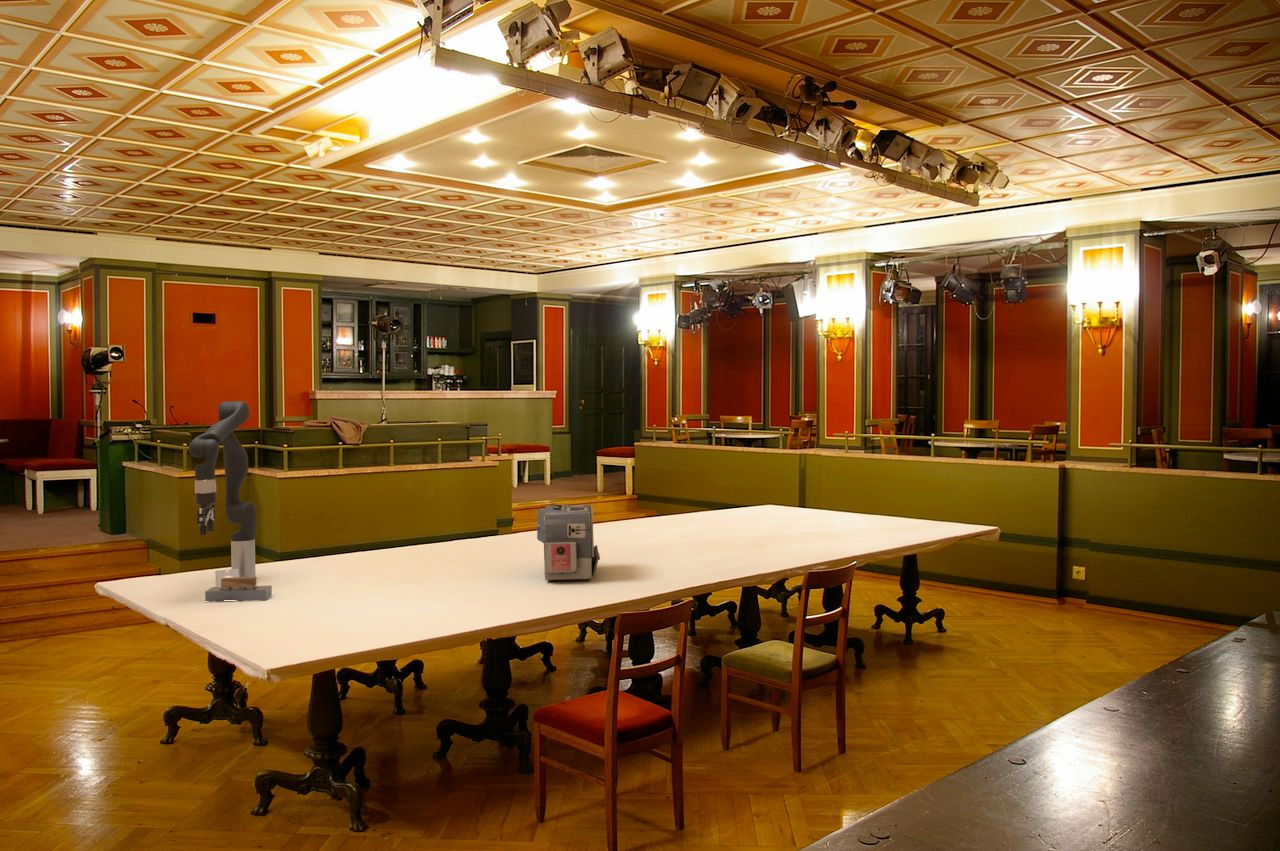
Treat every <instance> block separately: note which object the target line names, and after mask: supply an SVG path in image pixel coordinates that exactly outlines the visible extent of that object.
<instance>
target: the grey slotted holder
mask: <svg viewBox="0 0 1280 851" xmlns="http://www.w3.org/2000/svg"><path fill="white" fill-rule="evenodd" d="M272 587H273V585H256V589H247V586H245V587H231V590H222V587H216V586H212V587H210V588H208V589H207V590H205V591H204V595H205V596H204V597H205V598H204V600H205V601H224V600H260V601H267V600H268V599H270V598H271V597H272V596H273V594H272V593H273V588H272ZM271 595H272V596H271ZM270 596H271V597H270ZM269 597H270V598H269ZM267 598H268V599H267ZM266 599H267V600H266Z"/></svg>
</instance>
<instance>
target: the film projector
mask: <svg viewBox="0 0 1280 851" xmlns="http://www.w3.org/2000/svg"><path fill="white" fill-rule="evenodd" d="M593 511H594V510H593V506H592V505H591V506H590V504H566V505H565V504H554V505H546V506H545V508H538V509H537V514H536V515H537V521H536V522H537V525H536V538H537V540H538V541H539V542H541V543H543V557H544V559H543V560H544V562H543V563H544V564H543V565H544V578H545V581H547V583H552V582H553V581H557V580H558V581H559V580H562V581H563V580H584V581H586V582H587V581H588V582H590V580H591V579H592V577H595V576H596V571H597V566H598V563H599V560H601V554H600V552H599V548H598V545H596V544H595V543H594V540H595V539H594V512H593ZM594 544H595V545H594Z"/></svg>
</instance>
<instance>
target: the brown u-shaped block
mask: <svg viewBox="0 0 1280 851" xmlns="http://www.w3.org/2000/svg"><path fill="white" fill-rule="evenodd" d="M245 586H247V589H256V586H257V576H256V577H229V578H222V579H221V587H222V590H231V587H245Z"/></svg>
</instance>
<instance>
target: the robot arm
mask: <svg viewBox="0 0 1280 851" xmlns="http://www.w3.org/2000/svg"><path fill="white" fill-rule="evenodd" d="M217 411H218V412H217V413H218V420H219V421H217V422H215V423H214V424H212V425H210V427H209V428H208V429H207V430H206V431H205V433H202V434H200V435H198V436H197V437H195V438H193V439H192V440H191V441H190V443H189V446H188V453H189V455H190V456H191V457H193V458H197V459H199V458H201V459H202V458H206V460H205V462H203V463H199V464H197V465H195V467H194V503H195V505H200V508H197V509H196V511H197V512H196V513H197V514H196V517H197V519H196V520H197V521H196V522H197V525H198V526H199V534H200V536H205V535H207V534H208V532H213V531H214V530H215V529H214V528H215V527H214V522H215V520H216V517H217V516H216V503H217V502H218V501H217V499H218V498H217V482H216V465H217V464H216V463H217V460H218V456H219V452H220V445H221V444H222V449H223V450H222V451H223V452H222V454H223V468H224V475H225V476H224V477H225V478H224V479H225V515H226V516H225V517H226V519H227V521H228V522H229V523H230V524H236V525H237V524H239V525H240V528H239V529H238V530H237V531H235V532H232V533H231V534H230V553H231V554H230V555H231V558H230V560H231V569H239V577H256V578H257V576H256V541H255V540H256V539H255V538H256V533H257V518H258V516H257V515H258V514H257V513H258V511H257V507H256V505H255V503H254V502H252V501H241V498H240V494H241V493H240V492H241V486H242V485H243V484H244V481H245V480H246V478H247V475H248V472H249V458H248V457H249V456H248V453H247V450H246V449H245V448H244V446H243V445H242V444H241V442H240V441H239V440H238V439H237V437H236V435H235V432H234V431H235V430H237V429H238V428H239V427H240V426H242V425H243V424H245V423H246V422H247V421H248V420H249V418H250V415H251V414H250V412H251V410H250V406H249V405H248V403H247V402H245V401H242V400H239V401H237V400H234V401H221V402H220V403H219V406H218V410H217Z"/></svg>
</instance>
